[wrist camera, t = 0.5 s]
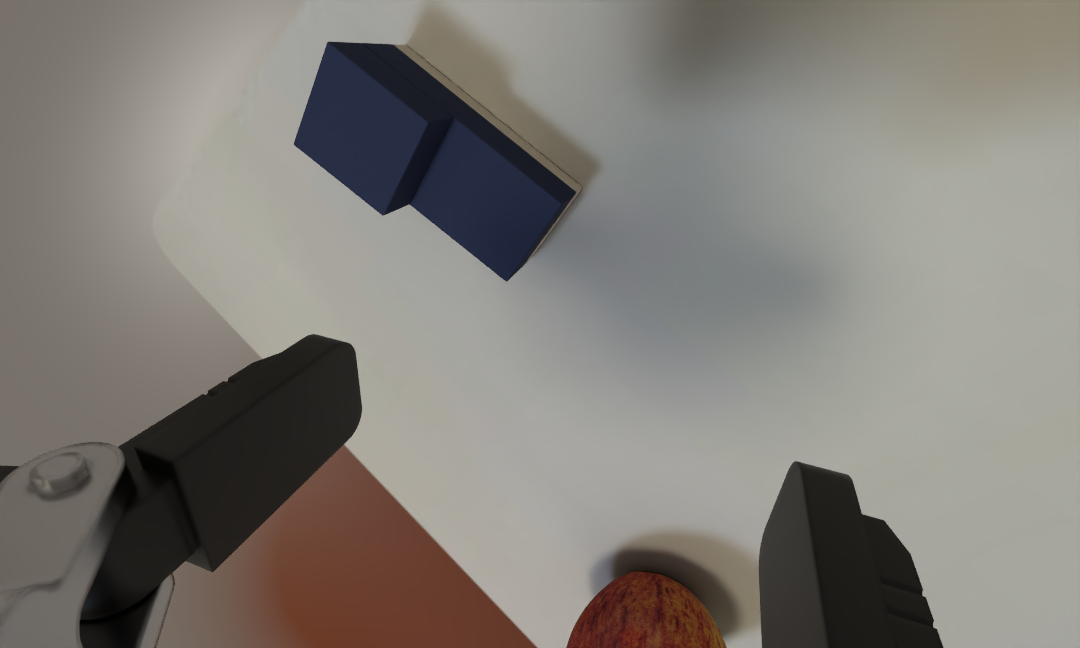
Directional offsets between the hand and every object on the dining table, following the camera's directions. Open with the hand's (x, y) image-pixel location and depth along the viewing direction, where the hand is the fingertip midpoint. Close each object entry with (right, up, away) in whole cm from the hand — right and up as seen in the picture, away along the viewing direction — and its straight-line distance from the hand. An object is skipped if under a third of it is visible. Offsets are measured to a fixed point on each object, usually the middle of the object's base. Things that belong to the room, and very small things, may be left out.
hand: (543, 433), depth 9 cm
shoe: (-3, +10, +15) cm, 18 cm away
